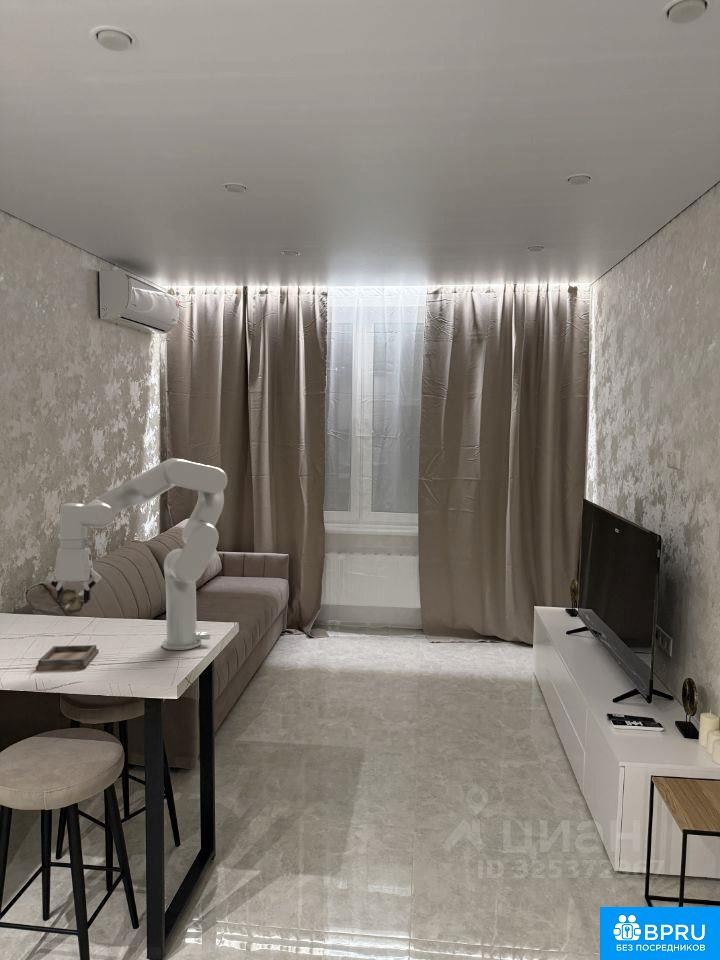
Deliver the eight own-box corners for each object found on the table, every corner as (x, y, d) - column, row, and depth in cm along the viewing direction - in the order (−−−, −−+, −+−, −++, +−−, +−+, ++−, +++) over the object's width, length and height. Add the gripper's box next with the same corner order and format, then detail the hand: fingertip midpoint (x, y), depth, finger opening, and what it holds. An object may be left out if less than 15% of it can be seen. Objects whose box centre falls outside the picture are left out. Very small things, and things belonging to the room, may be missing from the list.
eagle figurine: (56, 602, 218) (51, 604, 209) (71, 582, 220) (66, 583, 211) (78, 616, 219) (74, 618, 210) (92, 595, 221) (89, 597, 212)
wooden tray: (98, 652, 226) (98, 644, 226) (85, 668, 212) (84, 660, 211) (52, 654, 225) (52, 645, 225) (36, 670, 210) (35, 661, 210)
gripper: (106, 542, 221) (106, 599, 222) (48, 542, 219) (48, 599, 220) (100, 546, 213) (100, 605, 214) (39, 546, 211) (40, 605, 213)
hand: (73, 602), depth 217 cm, fingers closed on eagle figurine, 6 cm apart
